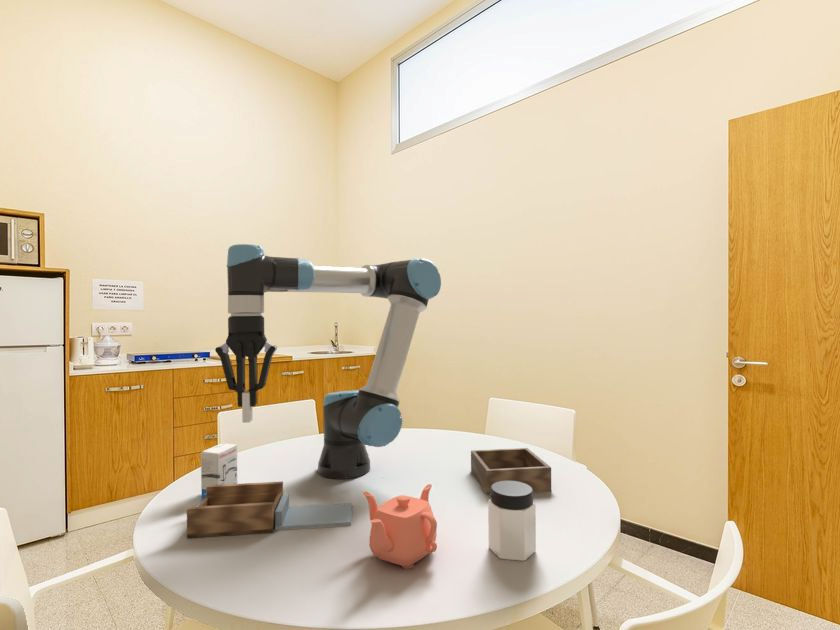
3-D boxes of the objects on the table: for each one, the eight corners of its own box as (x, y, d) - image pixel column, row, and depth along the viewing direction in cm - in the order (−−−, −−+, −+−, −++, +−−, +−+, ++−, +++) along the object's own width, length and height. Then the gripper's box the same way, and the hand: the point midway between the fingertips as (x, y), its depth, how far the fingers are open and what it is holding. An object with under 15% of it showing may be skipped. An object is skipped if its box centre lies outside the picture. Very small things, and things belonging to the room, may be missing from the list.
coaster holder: (527, 468, 133) (527, 447, 133) (551, 490, 117) (551, 467, 117) (471, 471, 131) (470, 450, 131) (487, 494, 114) (486, 470, 114)
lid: (352, 507, 108) (351, 490, 108) (351, 527, 98) (350, 508, 98) (283, 511, 106) (283, 494, 106) (275, 532, 96) (275, 512, 96)
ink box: (218, 501, 112) (217, 453, 112) (200, 499, 113) (199, 452, 113) (238, 487, 120) (238, 443, 120) (221, 486, 121) (221, 442, 121)
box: (283, 506, 108) (283, 481, 108) (272, 532, 95) (272, 504, 95) (208, 511, 106) (208, 485, 106) (187, 538, 93) (186, 509, 93)
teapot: (371, 582, 78) (370, 518, 78) (362, 541, 92) (361, 487, 91) (452, 570, 81) (451, 508, 81) (431, 532, 95) (431, 480, 95)
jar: (504, 534, 94) (504, 476, 94) (541, 547, 89) (541, 486, 89) (481, 551, 87) (481, 489, 87) (519, 567, 82) (519, 500, 82)
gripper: (279, 314, 105) (280, 416, 105) (220, 315, 103) (222, 418, 104) (273, 314, 98) (274, 424, 98) (209, 315, 96) (211, 426, 96)
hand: (247, 421), depth 101 cm, fingers closed
